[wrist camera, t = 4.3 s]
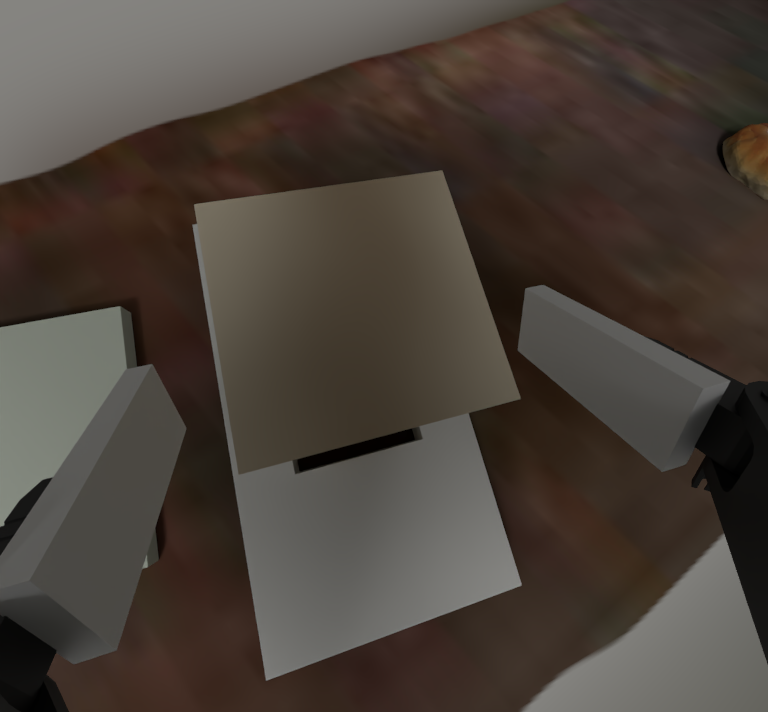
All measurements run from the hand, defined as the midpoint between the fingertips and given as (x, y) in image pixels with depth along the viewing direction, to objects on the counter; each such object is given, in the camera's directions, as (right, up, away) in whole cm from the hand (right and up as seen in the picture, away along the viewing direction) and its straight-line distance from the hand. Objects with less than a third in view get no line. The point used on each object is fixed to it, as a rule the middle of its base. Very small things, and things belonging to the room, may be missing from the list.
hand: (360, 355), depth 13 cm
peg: (-1, -2, +7) cm, 8 cm away
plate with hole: (-1, -2, +7) cm, 8 cm away
